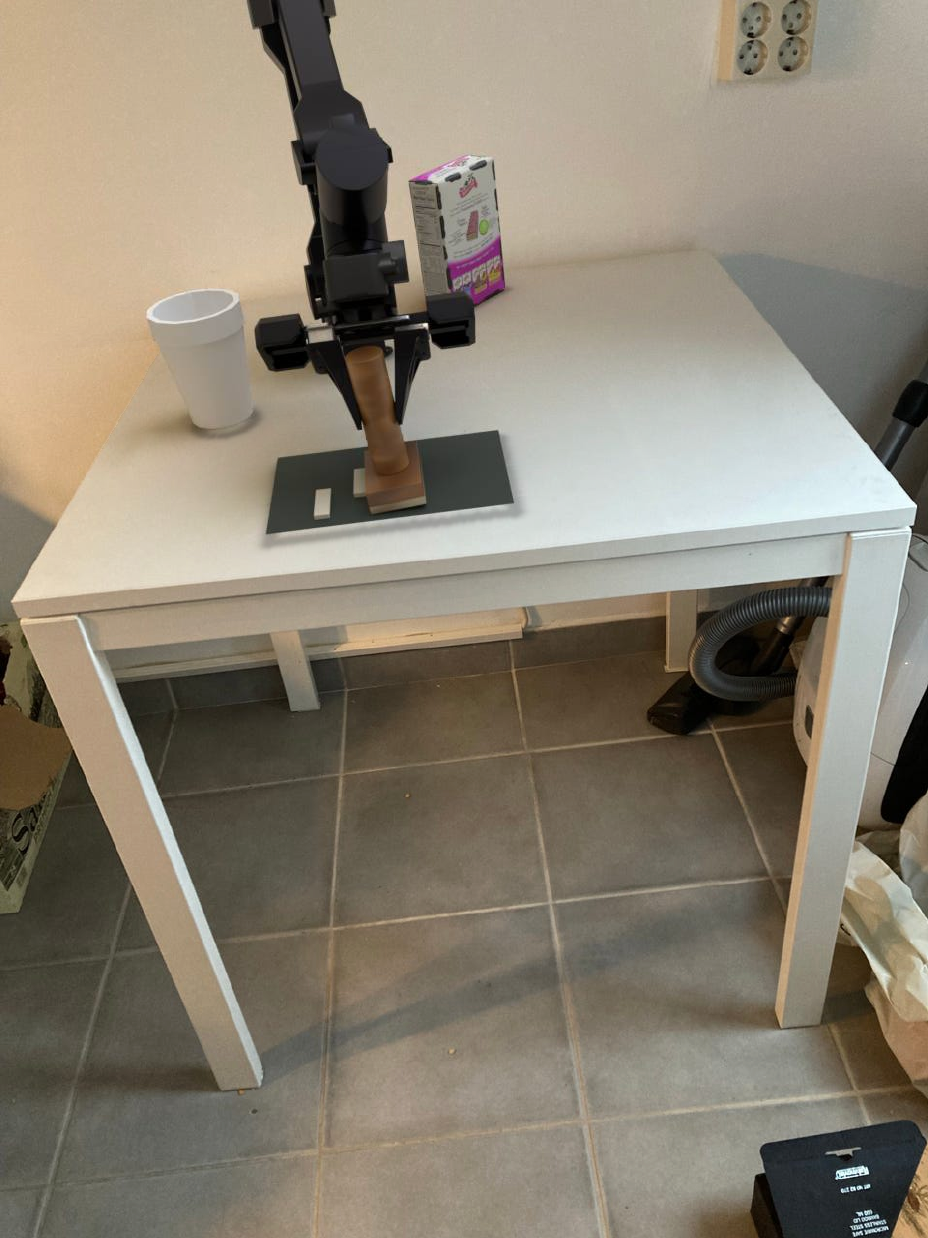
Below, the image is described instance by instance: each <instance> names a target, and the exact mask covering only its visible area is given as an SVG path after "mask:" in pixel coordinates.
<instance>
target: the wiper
mask: <svg viewBox="0 0 928 1238" xmlns="http://www.w3.org/2000/svg"><path fill="white" fill-rule="evenodd" d="M345 361H346V364H347V368H348V372H349V376H350V379H351V383H352V387H353V391H354V394H355V398H356V401H357V405H358V408H359V412H360V416H361V421H362V429H363V432H364V435H365V440H366V443H367V446H368V447H369V450H366V451H364V455H365V487H366V497H367V501H368V504H369V508H370V511H371V514H372V515H373V514H378V513H382V512H387V511H392V510H397V509H402V508H407V507H412V506H417V505H422V504H426V495H425V487H424V479H423V471H422V463H421V457H420V453H419V448H418V444H417V440H418V439H414V440H415V441H414V440H409V441H410V442H406V441H405V439H404V434H403V431H402V427H401V426H402V425H398V422H397V416H396V409H395V395H394V393H393V389H392V384H391V380H390V376H389V372H388V368H387V364H386V360H385V357H384V355H383V351H382V349H381V348H380V347H377V346H365V347H361V348H358V349H355V350H353V351H351V352H349V353H348V354H347V355H346V357H345Z"/></svg>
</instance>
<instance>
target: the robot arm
mask: <svg viewBox="0 0 928 1238" xmlns="http://www.w3.org/2000/svg"><path fill="white" fill-rule="evenodd" d="M246 5H247V10H248V15H249V19H250V24H251V28H252V30H254V31H255V30H258V31H259V35H260V40H261V44H262V48H263V49H262V50H263V51H264V53H265V54H266V55H267V56H268V58H269V60H271V61H272V62H273V64H274V65H275V66H276V68H277V69H278V70H279V71H280V72H281V74H282V75H283V78H284V82H285V87H286V88H285V89H286V92H287V97H288V103H289V107H290V112H291V116H292V122H293V126H294V131H295V137H296V139H294V140H290V147H291V154H292V159H293V163H294V169H295V174H296V178H297V182H298V184H299V185H300V186H306V190H307V194H308V199H309V203H310V209H311V213H312V214H311V215H312V218H313V226H312V228H311V232H310V235H309V238H308V241H307V244H306V247H305V248H306V249H305V253H306V257H307V262H308V264H303V274H304V280H305V288H306V289H305V290H306V293H307V294H306V295H307V298H308V303H309V307H310V310H311V313H312V316H313V317H312V318H313V319H314V321H319V320H320V321H321V322H320V323H313V324H307V325H305V324H304V321H303V319H302V317H301V315H300V314H301V313H299V312H297V313H290V314H284V315H283V314H282V315H276V316H268V317H261V318H259V320H257V323H256V325H254V332H253V333H254V339H255V340H254V341H255V348H256V350H257V352H258V355H259V356H260V357H261V360H262V361H263V363H264V364H265V366H266V368H267V370H268V371H269V372H273V373H274V372H275V373H279V372H287V371H294V370H303V369H305V368H306V367H307V366H308V364H311V365H312V367H313V370H314V373H316V375H328V377H329V378H330V380H331V382H332V383H333V384H334V387H336V389H337V391H338V392H339V394H340V395H341V397H342V399H343V401H344V404H345V406H346V408H347V410H348V412H349V414H350V416H351V419H352V421H353V423H354V425H355V427H356V429H357V431H362V430H363V424H362V421H361V416H360V412H359V408H358V405H357V401H356V398H355V394H354V391H353V387H352V383H351V379H350V376H349V372H348V368H347V364H346V361H345V357H346V355H347V354H348V353H349V352H351V351H353V350H355V349H358V348H361V347H365V346H377V347H380V348H381V349H382V351H383V355H384V358H385V357H387V356H388V355H390V354H392V353H394V355H393V356H394V401H395V409H396V416H397V422H398V425H400V426H402V425H403V424H404V420H405V416H406V410H407V406H408V402H409V397H410V393H411V389H412V385H413V382H414V380H415V377H416V375H417V372H418V369H419V367H420V364H421V362H424V361H429V360H430V359H431V358H432V353H431V344H430V340H431V343H432V344H433V345H434V346H436V347H437V348H438V349H440V350H441V351H442V350H450V349H458V348H464V347H465V348H466V347H470V346H472V345H475V344H476V340H477V339H476V335H477V334H476V313H475V306H474V305H473V299H472V297H471V296H470V295H469V294H468V293H466V292H465V291H460V292H452V293H445V294H438V295H430V296H426V299H425V302H426V301H427V306H426V310H424V311H418V312H410V313H404V314H403V313H402V314H399V311H398V303H397V295H396V288H395V285H398V284H399V285H400V284H407V283H409V282H410V274H409V267H408V261H407V260H408V259H407V253H406V252H407V251H406V246H405V240H404V239H397V240H390V241H389V236H388V235H389V234H388V229H387V227H388V226H387V222H386V221H387V220H386V209H387V204H388V184H389V183H388V181H389V180H388V179H389V169H390V168H389V166H390V164H394V157H393V150H392V146H390V145H389V144H388V143H387V142H386V141H385V140H384V139H383V137H382V136H381V135H380V134H379V131H378V130H377V128H376V127H370V124H369V121H368V118H367V114H366V112H365V109H364V106H363V103H362V101H360V100H359V98H357V97H355V96H354V95H353V94H351V93H349V92H348V91H347V90H345V88H344V83H343V81H342V77H341V74H340V73H341V72H340V70H339V66H338V63H337V59H336V58H337V57H336V55H335V51H334V48H333V44H332V40H331V32H332V29H331V23H330V19H334V18H335V17H337V10H336V4H335V0H246ZM317 299H318V300H317ZM427 310H428V311H427ZM391 340H393V347H392V346H389V345H386V341H391ZM310 362H311V363H310Z"/></svg>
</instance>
